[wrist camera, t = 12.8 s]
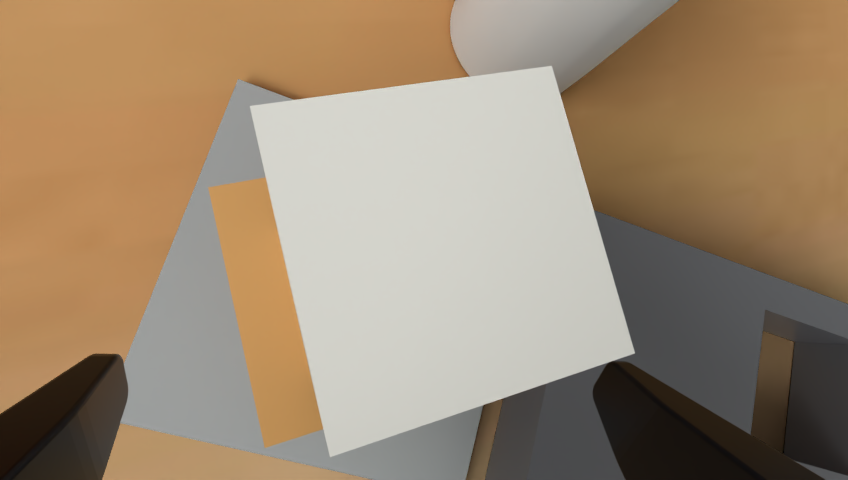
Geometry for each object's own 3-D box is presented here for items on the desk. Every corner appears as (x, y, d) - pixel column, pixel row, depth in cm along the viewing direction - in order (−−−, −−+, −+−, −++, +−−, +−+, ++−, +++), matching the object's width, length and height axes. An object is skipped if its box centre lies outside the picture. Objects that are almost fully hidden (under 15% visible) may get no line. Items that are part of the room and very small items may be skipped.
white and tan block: (465, 358, 18) (757, 431, 7) (271, 418, 16) (211, 665, 5) (418, 179, 19) (612, -41, 7) (227, 215, 17) (76, -6, 5)
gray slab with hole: (816, 574, 21) (897, 615, 18) (480, 498, 18) (515, 533, 15) (837, 326, 24) (911, 327, 21) (543, 222, 20) (583, 206, 18)
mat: (455, 493, 18) (461, 499, 17) (109, 415, 16) (101, 418, 15) (527, 192, 20) (534, 188, 20) (240, 86, 18) (238, 79, 18)
